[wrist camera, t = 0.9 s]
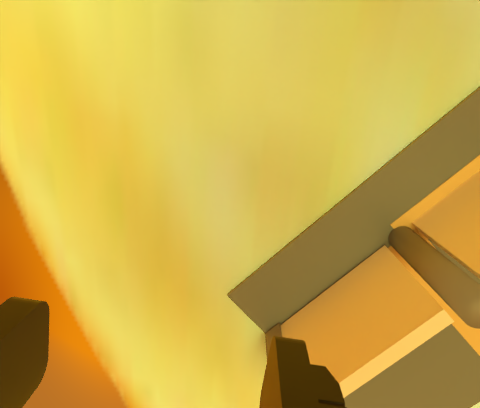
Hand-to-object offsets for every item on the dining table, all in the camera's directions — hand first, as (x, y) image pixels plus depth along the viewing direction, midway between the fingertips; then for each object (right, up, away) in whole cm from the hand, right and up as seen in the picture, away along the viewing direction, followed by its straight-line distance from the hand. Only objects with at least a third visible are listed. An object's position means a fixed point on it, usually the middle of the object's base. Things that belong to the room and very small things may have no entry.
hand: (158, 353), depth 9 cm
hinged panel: (+11, -6, +29) cm, 31 cm away
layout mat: (+21, -6, +29) cm, 36 cm away
